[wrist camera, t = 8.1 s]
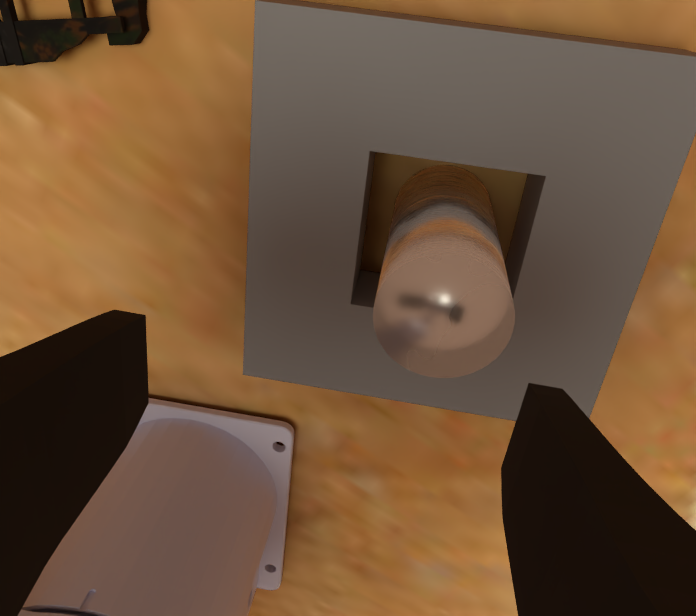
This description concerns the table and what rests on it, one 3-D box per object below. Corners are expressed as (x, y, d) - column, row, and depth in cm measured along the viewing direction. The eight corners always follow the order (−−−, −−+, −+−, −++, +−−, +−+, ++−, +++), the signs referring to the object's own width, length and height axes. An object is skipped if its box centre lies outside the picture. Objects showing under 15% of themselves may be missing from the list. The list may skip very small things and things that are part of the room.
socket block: (569, 386, 22) (583, 432, 19) (262, 335, 22) (243, 374, 20) (684, 49, 16) (722, 59, 14) (279, -2, 17) (255, 0, 15)
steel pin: (479, 263, 20) (497, 388, 14) (387, 249, 20) (364, 366, 14) (501, 172, 19) (531, 267, 12) (402, 158, 19) (383, 243, 13)
